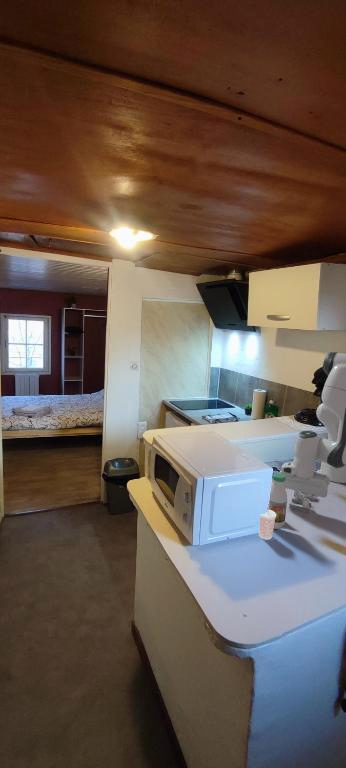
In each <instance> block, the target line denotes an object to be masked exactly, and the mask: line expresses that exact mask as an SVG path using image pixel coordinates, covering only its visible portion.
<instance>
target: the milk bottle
mask: <svg viewBox="0 0 346 768" xmlns="http://www.w3.org/2000/svg"><path fill="white" fill-rule="evenodd" d="M271 480H272V483H271V486H270V487H271V493H270V502H269V510H272V511H274V512H275V513H276V518H275V522H274V528H273V530H274V529H275V530H280V529H283V528H284V526H285V523H286V516H287V504H288V494H287V491H286V488H285V487H284V483H285V476H284V475H282V474H279V472H277V473H273V475H272V479H271Z"/></svg>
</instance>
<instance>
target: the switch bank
mask: <svg viewBox="0 0 346 768" xmlns="http://www.w3.org/2000/svg"><path fill="white" fill-rule="evenodd" d="M302 493H303V492H301V496H303V494H302ZM315 497H316V496H315V495H312V497H309V496H306V497H305V499H306V498H308V499H309V507H308V509H307V508H304V507H303V502H301V501H297V500H296V499H295V493H294V494H293V497H291V503H295V504H291V503H289V506H288V508H289V509H293V510H295V511H300V512H303V513H304V512H305V513H308V514H310V512H311V511H312V508H311V507H312V502H313V501H314V500H315ZM310 501H311V502H310ZM296 504H297V505H296ZM298 504H299V505H302V506H299V505H298Z"/></svg>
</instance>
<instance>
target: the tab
mask: <svg viewBox="0 0 346 768" xmlns="http://www.w3.org/2000/svg"><path fill="white" fill-rule="evenodd" d="M309 503H310V500H309V499H308V498H306V499H305V498H304V501H303V505H302V507H304V508H307V509H309V508H310V506H309Z"/></svg>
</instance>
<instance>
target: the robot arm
mask: <svg viewBox="0 0 346 768" xmlns="http://www.w3.org/2000/svg"><path fill="white" fill-rule="evenodd" d="M322 370H323V372H324V373H325V374H326V375H327V378H326V380H325V383H324V386H323V389H322V392H321V401H322V403H321V404H319V405H318V407H317V408H316V411H315V412H316V413H315V414H316V417H317V420H318V421H319V422H321V424H323V426H324V427H325V429H326V432H327V438H325V437H322V436H320V435H318V433H317V432H315V431H313V430H303V431H300V432H298V434H297V436H296V440H295V444H294V458H293V461H287V462H283V464H282V465H281V468H280V471H279V472H278V474H282V475H284V476H285V483H284V487H285V489H288V490H292V491H294V493H295V495H296V497H297V498H296V500H297V501H301V502H303V501H304V498H305V497H306V496H307V494H311V495H312V496H313V495H314V497H320V498H326V497H327V496H328V490H329V485H330V484H331V482H333V483H334V482H335V483H339V484H346V353H342V352H337V351H335V352H334V351H332V352H328V353H327V354H326V355H325V357H324V359H323V360H322ZM316 461H320V462H321V465H320V468H321V469H320V468H319V469H320V470H319V469H317V471H316V466H317V462H316ZM298 491H299V492H303V494H302V495H303V496H299V494H298Z"/></svg>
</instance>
